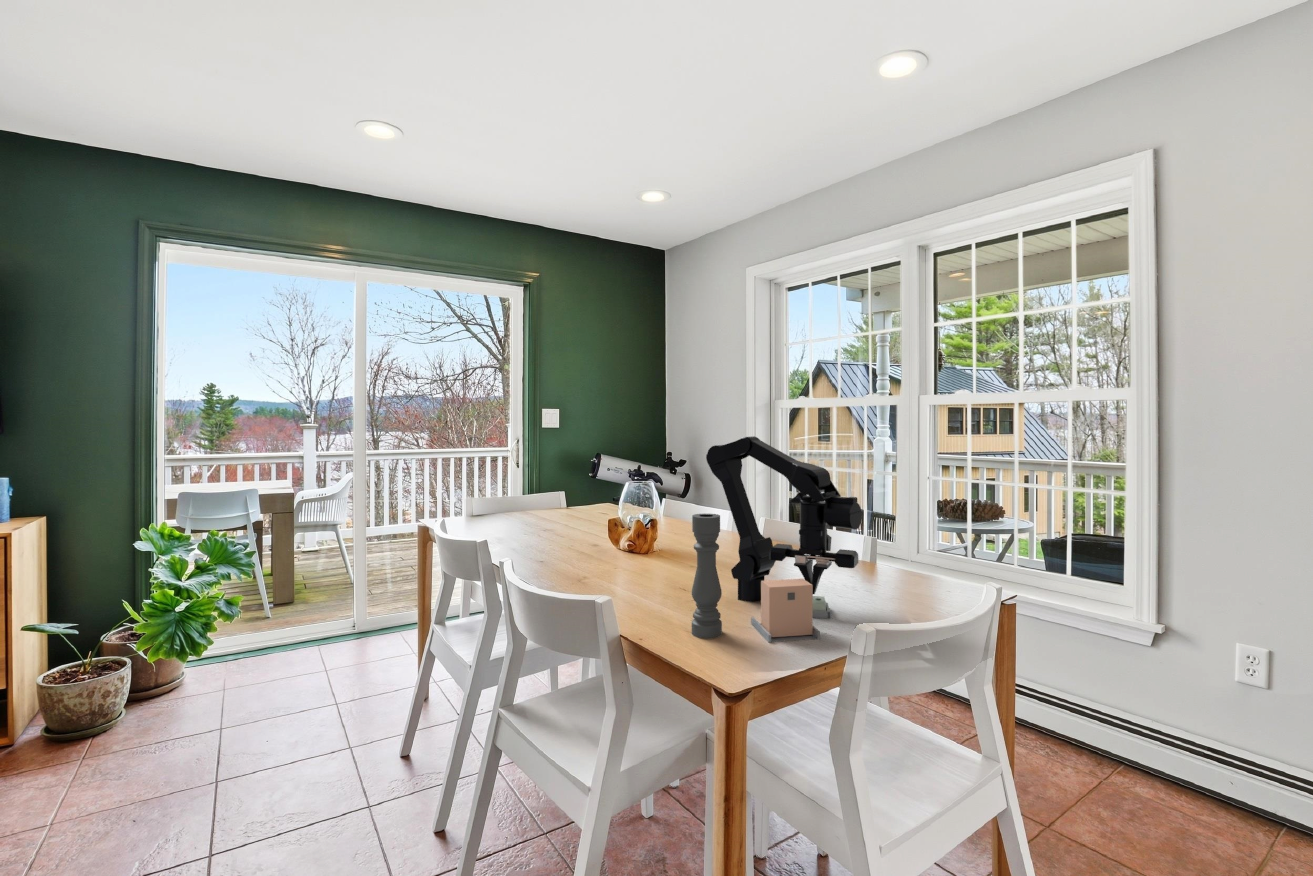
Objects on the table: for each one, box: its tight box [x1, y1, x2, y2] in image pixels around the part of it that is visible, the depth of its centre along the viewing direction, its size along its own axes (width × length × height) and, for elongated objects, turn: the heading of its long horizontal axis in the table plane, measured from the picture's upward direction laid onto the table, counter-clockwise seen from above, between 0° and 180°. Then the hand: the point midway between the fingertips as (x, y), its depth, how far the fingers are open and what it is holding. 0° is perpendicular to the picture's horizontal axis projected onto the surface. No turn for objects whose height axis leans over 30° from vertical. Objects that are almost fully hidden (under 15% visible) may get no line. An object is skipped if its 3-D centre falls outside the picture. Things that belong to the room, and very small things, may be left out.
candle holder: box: [691, 513, 723, 640], centre depth 129 cm, size 6×6×25 cm
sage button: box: [813, 595, 827, 611], centre depth 143 cm, size 5×5×2 cm
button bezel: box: [813, 602, 834, 620], centre depth 143 cm, size 8×8×2 cm
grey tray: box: [750, 616, 821, 643], centre depth 131 cm, size 11×11×2 cm
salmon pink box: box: [760, 578, 814, 637], centre depth 129 cm, size 5×9×10 cm, turn 100°
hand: (812, 593), depth 143 cm, fingers closed
